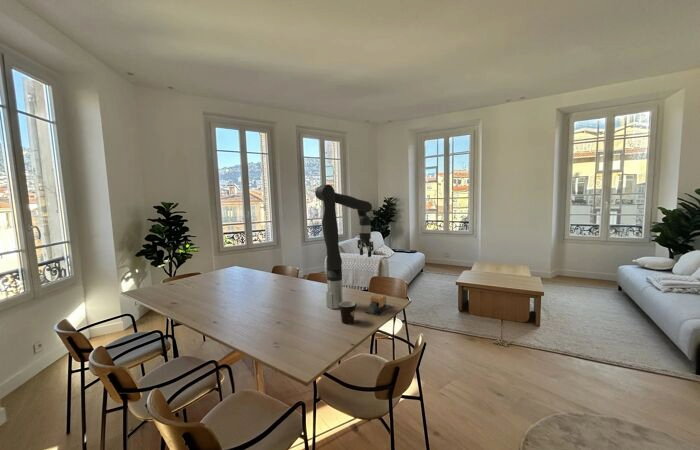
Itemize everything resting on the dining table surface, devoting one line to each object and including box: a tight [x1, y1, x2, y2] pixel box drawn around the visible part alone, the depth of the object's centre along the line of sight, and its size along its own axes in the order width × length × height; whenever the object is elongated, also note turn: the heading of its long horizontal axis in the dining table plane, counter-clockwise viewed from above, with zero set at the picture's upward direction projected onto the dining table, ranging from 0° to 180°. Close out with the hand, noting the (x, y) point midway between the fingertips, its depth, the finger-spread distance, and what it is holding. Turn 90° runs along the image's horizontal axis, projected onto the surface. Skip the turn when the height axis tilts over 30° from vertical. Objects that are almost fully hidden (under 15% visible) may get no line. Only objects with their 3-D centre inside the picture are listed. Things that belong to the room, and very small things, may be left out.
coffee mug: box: [339, 300, 357, 325], centre depth 166 cm, size 12×9×10 cm
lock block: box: [370, 293, 386, 307], centre depth 182 cm, size 7×6×5 cm
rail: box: [364, 295, 392, 316], centre depth 182 cm, size 16×9×6 cm, turn 148°
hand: (365, 256), depth 203 cm, fingers open, 8 cm apart
